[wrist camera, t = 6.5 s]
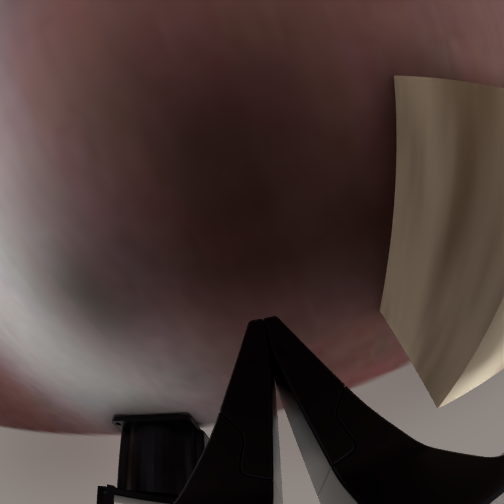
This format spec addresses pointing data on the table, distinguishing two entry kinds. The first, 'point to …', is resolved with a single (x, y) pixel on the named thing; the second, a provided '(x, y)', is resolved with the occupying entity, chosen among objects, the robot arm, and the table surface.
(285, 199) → the table surface
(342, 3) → the table surface
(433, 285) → the block
